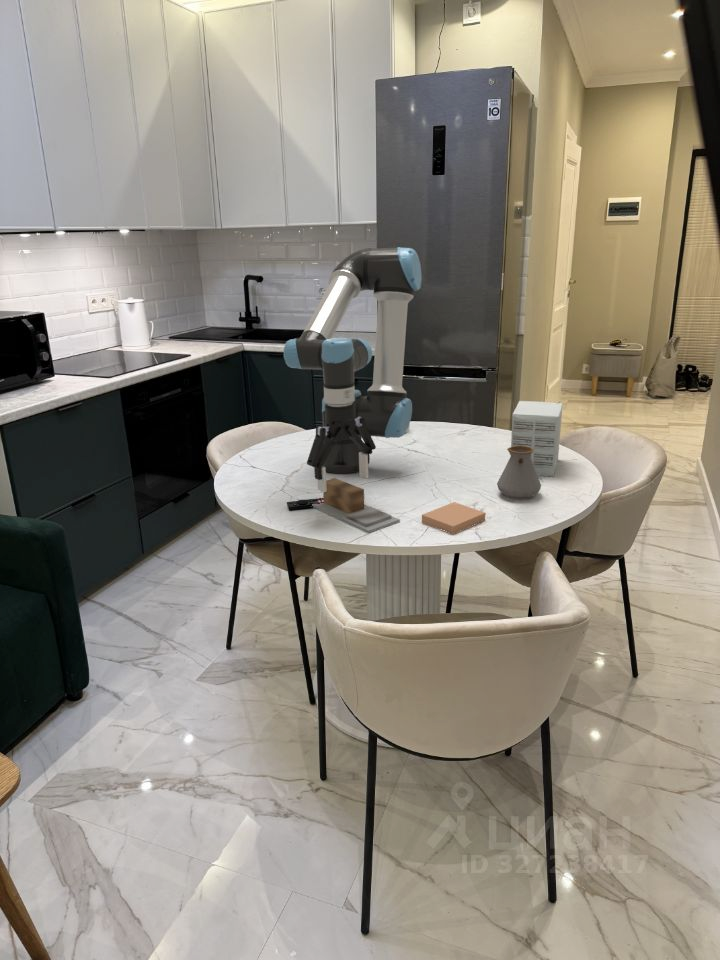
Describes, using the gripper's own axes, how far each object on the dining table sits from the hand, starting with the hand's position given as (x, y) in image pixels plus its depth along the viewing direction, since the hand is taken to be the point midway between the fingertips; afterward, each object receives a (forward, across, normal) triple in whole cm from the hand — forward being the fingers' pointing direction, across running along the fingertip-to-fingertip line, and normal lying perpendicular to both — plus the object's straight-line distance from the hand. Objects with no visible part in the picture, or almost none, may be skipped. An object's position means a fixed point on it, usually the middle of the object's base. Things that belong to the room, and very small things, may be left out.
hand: (343, 483), depth 172 cm
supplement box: (+8, +63, -12) cm, 65 cm away
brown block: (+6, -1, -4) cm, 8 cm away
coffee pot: (+7, +36, -27) cm, 46 cm away
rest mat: (+7, -1, -4) cm, 8 cm away
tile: (+6, +14, -20) cm, 25 cm away
